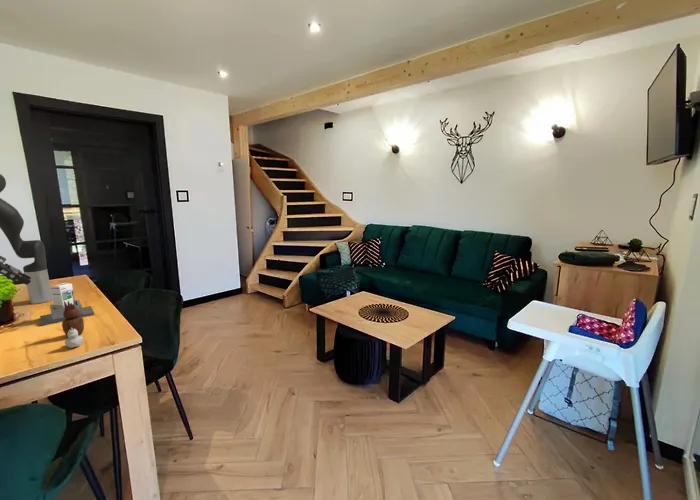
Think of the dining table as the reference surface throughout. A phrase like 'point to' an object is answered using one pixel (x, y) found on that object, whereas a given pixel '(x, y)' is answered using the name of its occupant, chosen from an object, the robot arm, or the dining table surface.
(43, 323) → the steel sleeve
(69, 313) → the wooden figurine
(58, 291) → the syrup box
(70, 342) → the rubber duck
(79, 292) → the dining table surface
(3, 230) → the robot arm
